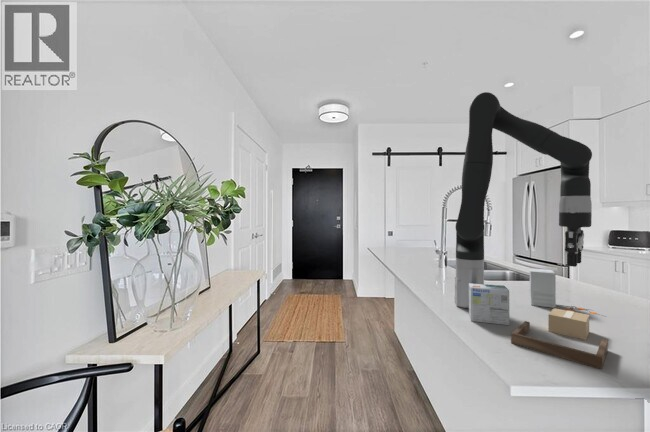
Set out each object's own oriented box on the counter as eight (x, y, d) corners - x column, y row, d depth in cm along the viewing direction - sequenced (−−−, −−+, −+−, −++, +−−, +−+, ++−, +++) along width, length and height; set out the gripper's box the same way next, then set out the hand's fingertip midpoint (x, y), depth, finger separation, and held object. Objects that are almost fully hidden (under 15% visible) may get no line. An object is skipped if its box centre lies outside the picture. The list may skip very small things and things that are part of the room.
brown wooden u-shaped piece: (525, 329, 83) (525, 321, 83) (607, 350, 71) (607, 340, 71) (511, 343, 75) (511, 333, 75) (601, 369, 62) (601, 357, 62)
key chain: (556, 310, 102) (556, 307, 102) (557, 305, 108) (557, 302, 108) (607, 318, 94) (607, 315, 94) (604, 312, 100) (604, 310, 100)
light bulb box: (504, 318, 93) (504, 284, 93) (510, 326, 86) (510, 290, 86) (467, 314, 96) (467, 282, 96) (470, 321, 90) (470, 287, 90)
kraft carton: (553, 324, 88) (553, 307, 88) (589, 332, 82) (589, 314, 82) (548, 331, 83) (548, 314, 83) (586, 340, 77) (586, 321, 77)
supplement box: (553, 303, 109) (553, 269, 109) (555, 308, 102) (556, 273, 102) (529, 300, 113) (529, 267, 113) (530, 305, 106) (530, 270, 106)
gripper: (563, 211, 96) (562, 260, 96) (554, 211, 86) (553, 265, 87) (594, 211, 90) (593, 263, 91) (588, 211, 81) (587, 269, 81)
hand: (574, 264), depth 89 cm, fingers open, 8 cm apart
